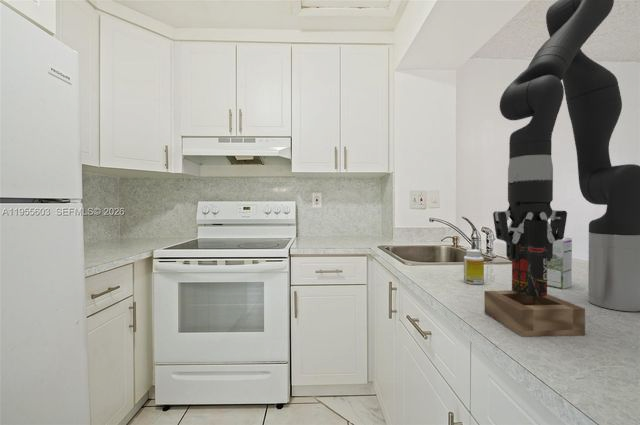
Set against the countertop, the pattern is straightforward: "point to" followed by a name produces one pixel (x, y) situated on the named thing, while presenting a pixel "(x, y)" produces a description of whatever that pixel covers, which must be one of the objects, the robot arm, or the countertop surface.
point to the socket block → (535, 314)
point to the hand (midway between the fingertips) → (529, 260)
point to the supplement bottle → (474, 267)
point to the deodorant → (531, 260)
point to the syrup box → (560, 264)
